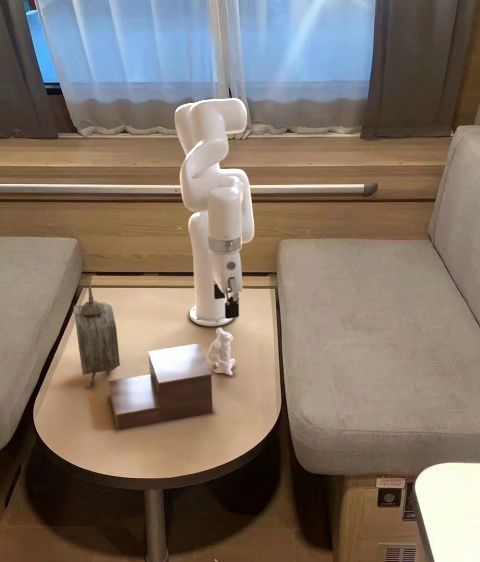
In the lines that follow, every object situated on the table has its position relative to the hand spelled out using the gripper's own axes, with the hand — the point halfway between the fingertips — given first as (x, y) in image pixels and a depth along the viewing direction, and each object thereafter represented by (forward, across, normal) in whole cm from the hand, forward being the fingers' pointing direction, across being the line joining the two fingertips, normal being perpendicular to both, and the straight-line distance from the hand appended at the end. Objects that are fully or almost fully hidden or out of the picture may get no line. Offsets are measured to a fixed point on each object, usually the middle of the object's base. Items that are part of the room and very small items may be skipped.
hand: (226, 307), depth 180 cm
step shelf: (+19, -8, +18) cm, 28 cm away
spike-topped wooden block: (+19, +10, +30) cm, 37 cm away
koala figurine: (+19, +2, 0) cm, 19 cm away
